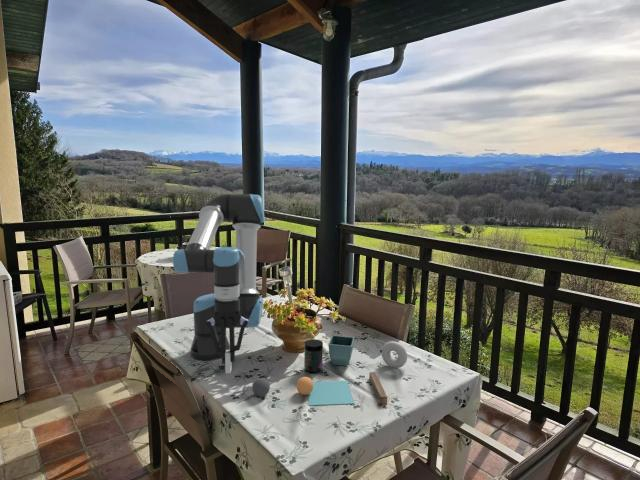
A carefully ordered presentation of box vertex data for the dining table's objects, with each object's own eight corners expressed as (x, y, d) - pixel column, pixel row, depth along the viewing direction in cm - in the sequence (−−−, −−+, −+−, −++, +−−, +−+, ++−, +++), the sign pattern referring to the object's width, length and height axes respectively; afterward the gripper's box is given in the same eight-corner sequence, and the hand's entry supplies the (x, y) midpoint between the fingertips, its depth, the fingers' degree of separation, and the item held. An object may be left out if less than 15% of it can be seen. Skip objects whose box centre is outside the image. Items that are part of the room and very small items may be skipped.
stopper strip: (380, 404, 120) (380, 396, 120) (369, 378, 136) (369, 372, 136) (387, 404, 120) (387, 396, 120) (374, 378, 136) (375, 371, 136)
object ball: (296, 398, 123) (296, 382, 122) (296, 389, 128) (296, 373, 128) (314, 398, 124) (314, 381, 123) (312, 389, 129) (312, 373, 128)
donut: (408, 369, 144) (409, 343, 142) (404, 372, 141) (405, 346, 139) (383, 362, 149) (384, 337, 148) (379, 365, 146) (380, 340, 145)
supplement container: (318, 376, 138) (318, 348, 136) (301, 372, 140) (301, 344, 139) (325, 368, 144) (325, 341, 142) (308, 364, 146) (308, 338, 145)
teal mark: (309, 405, 119) (309, 405, 119) (306, 382, 133) (306, 382, 133) (354, 403, 120) (354, 403, 120) (347, 381, 134) (347, 380, 134)
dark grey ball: (251, 400, 122) (251, 384, 121) (253, 391, 127) (252, 375, 126) (269, 399, 122) (269, 383, 121) (270, 390, 128) (270, 374, 127)
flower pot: (351, 369, 143) (351, 346, 142) (327, 367, 145) (328, 344, 143) (354, 359, 151) (354, 337, 150) (331, 356, 153) (332, 335, 152)
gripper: (202, 301, 115) (204, 377, 118) (247, 301, 116) (248, 376, 119) (207, 295, 122) (209, 366, 125) (249, 294, 123) (250, 365, 126)
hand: (228, 371), depth 122 cm, fingers closed
